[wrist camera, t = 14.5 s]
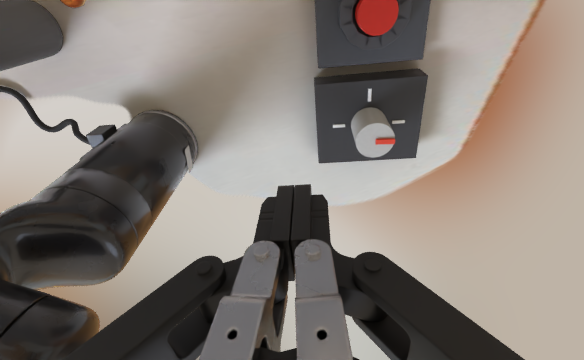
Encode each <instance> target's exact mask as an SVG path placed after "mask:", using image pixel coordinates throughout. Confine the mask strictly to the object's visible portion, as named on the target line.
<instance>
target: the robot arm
mask: <svg viewBox="0 0 584 360" xmlns="http://www.w3.org/2000/svg"><path fill="white" fill-rule="evenodd" d="M0 92H5V93H8V94H11V95H13V96H14V97H16V98H17V99H18V100H19V101H20V102H21V103H22V105H23V106H24V108H25V109H26V111H27V112H28V114H29V116H30V117H31V119H32V120H33V121H34V122H35V124H36V125H37V126H39V127H40V128H41V129H43V130H45V131H48V132H58V131H60V130H62V129H63V128H65V127H66V126H67V125H71V126H72V130H73V133H74V135H75V136H76V137H77V138H78V139H80V140H81V141H83V142H85V143H87V144H89V145H91V146H92V148H93V149H91V150H90V151H89V152H88V153H86V154H85V155H84V156H83V157H81V158H80V161H79V162H78V163H77V164H75V165H74V166H73V167H71V168H70V169H69V170H68V171H66V172H65V173H64V174H63V175H62V176H60V177H59V178H58V179H56V180H55V181H54V182H53V183H51V184H50V185H49V186H47V187H46V188H45V189H44V190H42V191H41V192H40V193H38V194H37V195H36V196H34V197H33V198H32V199H30V200H29V201H27V202H23V203H20V204H17V205H15V206H12V207H10V208H8V209H6V210H5V211H3V212H1V213H0V360H196V358H198V357H199V356H200V358H199V360H359V359H357V358H354V357H352V352H351V346H350V341H349V336H348V330H347V324H346V320H345V315H349V316H352V318H353V320H354V322H355V323H356V324H357V325H358V326H359V327H360V328H361V329H362V330H363V331H364V332H365V333H366V334H367V335H368V336H369V338H370V339H371V340H372V341H373V342H374V343H375V344H376V345H377V346H378V347H379V348H380V349H381V350H382V351H383V352H384V353H385V354H386V355H387V356H388V357H389V358H390V359H391V360H525V359H523V358H522V357H520V356H519V355H518V354H516V353H515V352H514V351H512V350H511V349H510V348H508V347H507V346H506V345H504V344H503V343H501V342H500V341H499V340H497V339H496V338H495V337H493V336H492V335H491V334H489V333H488V332H487V331H485V330H484V329H483V328H481V327H480V326H479V325H477V324H476V323H475V322H473V321H472V320H470V319H469V318H468V317H466V316H465V315H464V314H462V313H461V312H460V311H458V310H457V309H456V308H454V307H453V306H451V305H450V304H449V303H447V302H446V301H445V300H443V299H442V298H441V297H439V296H438V295H437V294H435V293H434V292H433V291H431V290H430V289H428V288H427V287H426V286H424V285H423V284H422V283H420V282H419V281H418V280H416V279H415V278H414V277H412V276H411V275H410V274H408V273H407V272H406V271H404V270H403V269H402V268H400V267H399V266H397V265H396V264H395V263H393V262H392V261H391V260H389V259H388V258H387V257H385V256H383V255H381V254H379V253H375V252H365V253H362V254H360V255H358V256H357V257H356V258H351V257H347V256H344V255H341V254H339V253H338V252H337V251H335V250H334V249H333V247H332V245H331V242H330V230H329V216H328V202H327V200H326V199H325V197H324V196H323V195H311V184H309V185H295V187H294V185H290V186H278V191H277V197H268V198H267V199H266V200H265V201H264V202H263V204H262V207H261V210H260V215H259V220H258V224H257V228H256V233H255V238H254V242H253V244H252V245H251V246H250V247H248V248H247V250H246V251H245V253H244V256H242V257H240V258H238V259H236V260H232V261H229V262H225V263H223V262H222V260H221V259H220V258H218V257H215V256H205V257H202V258H199V259H197V260H196V261H194V262H193V263H192V264H190V265H189V266H187V267H186V268H185V269H183V270H182V271H181V272H179V273H178V274H177V275H175V276H174V277H173V278H171V279H170V280H168V281H167V282H166V283H165V284H163V285H162V286H160V287H159V288H158V289H156V290H155V291H154V292H152V293H151V294H150V295H148V296H147V297H145V298H144V299H143V300H141V301H140V302H139V303H137V304H136V305H135V306H133V307H132V308H131V309H129V310H128V311H127V312H125V313H124V314H123V315H121V316H120V317H119V318H117V319H116V320H114V321H113V322H112V323H111V324H109V325H108V326H107V327H105V328H104V329H103V330H101V331H100V332H99V328H100V321H99V317H98V315H97V314H96V312H95V311H94V310H92V309H90V308H88V307H86V306H84V305H81V304H78V303H75V302H72V301H69V300H66V299H63V298H60V297H56V296H52V295H50V294H47V293H44V292H41V291H37V290H39V289H44V288H50V287H63V286H88V285H95V284H100V283H103V282H106V281H108V280H110V279H112V278H114V277H115V276H117V275H118V274H119V273H120V272H121V271H122V270H123V269H124V267H125V266H126V264H127V263H128V261H129V260H130V258H131V257H132V255H133V254H134V252H135V251H136V249H137V248H138V246H139V244H140V243H141V242H142V240H143V238H144V237H145V235H146V234H147V232H148V230H149V229H150V227H151V226H152V224H153V223H154V221H155V220H156V218H157V217H158V215H159V214H160V212H161V211H162V209H163V208H164V206H165V204H166V203H167V201H168V200H169V198H170V197H171V195H172V194H173V192H174V190H175V189H176V187H177V186H178V184H179V183H180V181H181V180H182V178H183V177H184V175H185V174H186V172H187V171H188V169H189V173H190V171H191V170H192V168H193V163H194V161H195V159H196V157H197V153H198V145H197V141H196V138H195V136H194V134H193V132H192V131H191V129H190V128H189V127H188V126H187V125H186V123H184V122H183V121H182V120H181V119H179V118H178V117H176V116H174V115H173V114H170V113H168V112H164V111H159V110H149V111H145V112H142V113H140V114H138V115H137V116H135V117H134V118H133V119H132V120H131V121H130V122H129V123H128V124H124V125H123V126H121V127H120V128H119V129H116V127H115V125H104V126H99V127H97V128H96V129H94V130H93V131H92V132H90V133H89V134H87V135H86V137H85V136H84V135H83V134H81V133H80V131H79V127H78V124H77V122H76V121H75V120H73V119H66V120H64V121H62V122H61V123H60V124H58V125H57V126H54V127H49V126H47V125H45V124H44V123H43V122H42V121H41V120H40V119H39V118H38V116H37V115H36V113H35V111H34V110H33V108H32V107H31V105H30V103H29V102H28V101H27V99H26V98H25V97H24V96H23V95H22V94H20V93H19V92H17V91H16V90H13V89H11V88H8V87H3V86H0ZM295 279H296V298H295V311H296V312H295V314H296V341H297V343H296V344H297V348H295V349H291V350H287V351H283V352H280V346H281V337H282V330H283V324H284V318H285V312H286V306H287V298H288V296H287V291H288V281H294V280H295ZM197 307H198V308H197Z"/></svg>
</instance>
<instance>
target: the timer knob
mask: <svg viewBox="0 0 584 360" xmlns="http://www.w3.org/2000/svg"><path fill="white" fill-rule="evenodd" d="M351 129H352V133H353V136H354V140H355V144H356V147H357V149H358V151H359V152H360V153H361V154H362V155H364V156H366V157H371V158H375V157H380V156H382V155H384V154H386V153H387V152H388V151H390V149H391V148H392V147H393V145H394V144H395V135H394V132H393V130H392V128H391V126H390V124H389V123H388V121H387V119H386V117H385V115H384V114H383V112H382V111H380V110H379V109H377V108H372V107H369V108H364V109H362V110H360V111H358V112H357V113H356V114H355V115H354V117H353V119H352V122H351Z"/></svg>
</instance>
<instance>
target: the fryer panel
mask: <svg viewBox="0 0 584 360" xmlns="http://www.w3.org/2000/svg"><path fill="white" fill-rule="evenodd" d="M427 79H428V75H427V74H425V73H424V72H423V71H422V70H420V69H410V70H398V71H386V72H374V73H363V74H351V75H339V76H327V77H316V78H314V86H315V104H316V122H317V140H318V158H319V163H333V162H351V161H368V160H386V159H403V158H416V153H417V146H418V139H419V133H420V126H421V119H422V112H423V106H424V99H425V92H426V85H427ZM369 107H372V108H377V109H379V110H380V111H382V112H383V114H384V115H385V117H386V119H387V121H388V123H389V124H390V126H391V128H392V130H393V132H394V135H395V144H394V145H393V147H392V148H391V149H390V151H388V152H387V153H386V154H384V155H382V156H380V157H375V158H371V157H366V156H364V155H362V154H361V153H360V152H359V151H358V149H357V147H356V144H355V140H354V136H353V133H352V129H351V122H352V119H353V117H354V115H355V114H356V113H357V112H358V111H360V110H362V109H364V108H369Z"/></svg>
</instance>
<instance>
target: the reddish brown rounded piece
mask: <svg viewBox="0 0 584 360" xmlns="http://www.w3.org/2000/svg"><path fill="white" fill-rule="evenodd" d="M60 1H61V2H63V3H64V4H65V5H67V6H69V7H73V8H76V7H80V6H83V5H84V3H85V1H86V0H60Z"/></svg>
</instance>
